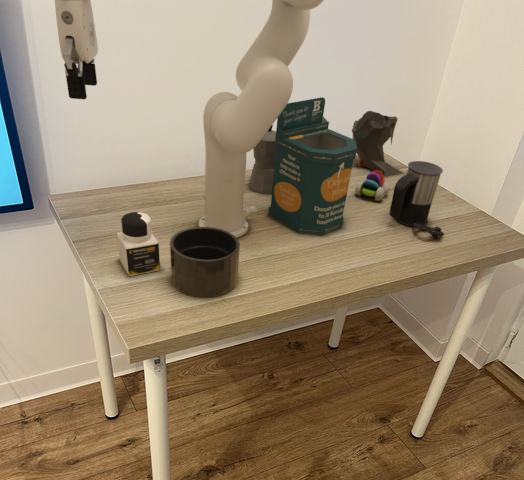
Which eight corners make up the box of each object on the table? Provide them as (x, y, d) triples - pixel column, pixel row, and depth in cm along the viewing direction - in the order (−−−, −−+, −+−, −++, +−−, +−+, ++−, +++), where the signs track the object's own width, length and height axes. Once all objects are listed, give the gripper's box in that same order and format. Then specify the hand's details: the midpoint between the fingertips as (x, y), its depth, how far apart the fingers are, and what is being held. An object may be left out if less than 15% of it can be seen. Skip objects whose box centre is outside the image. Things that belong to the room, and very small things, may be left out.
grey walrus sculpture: (371, 156, 183) (382, 101, 171) (402, 172, 173) (416, 115, 162) (339, 162, 176) (349, 104, 165) (369, 179, 167) (382, 120, 155)
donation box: (310, 201, 151) (325, 96, 133) (352, 224, 142) (374, 114, 124) (267, 215, 142) (278, 104, 124) (310, 240, 133) (328, 125, 115)
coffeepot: (238, 182, 157) (241, 119, 146) (263, 176, 162) (268, 114, 150) (270, 202, 148) (276, 136, 137) (295, 195, 153) (303, 131, 141)
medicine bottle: (128, 277, 114) (123, 226, 107) (119, 260, 119) (113, 211, 111) (160, 270, 117) (157, 221, 109) (150, 255, 122) (146, 206, 114)
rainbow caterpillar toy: (390, 194, 159) (396, 171, 154) (377, 205, 152) (383, 180, 148) (364, 186, 162) (369, 163, 157) (351, 196, 156) (356, 172, 151)
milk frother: (402, 208, 152) (415, 157, 142) (454, 226, 146) (472, 174, 136) (380, 225, 143) (393, 172, 133) (436, 245, 136) (454, 191, 127)
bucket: (209, 256, 124) (209, 220, 118) (251, 283, 116) (253, 247, 110) (158, 276, 116) (156, 239, 110) (199, 306, 108) (199, 268, 102)
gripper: (80, -4, 88) (94, 105, 99) (101, -17, 101) (111, 81, 112) (34, -8, 87) (52, 102, 98) (61, -20, 100) (74, 78, 111)
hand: (83, 91), depth 105 cm, fingers open, 9 cm apart
